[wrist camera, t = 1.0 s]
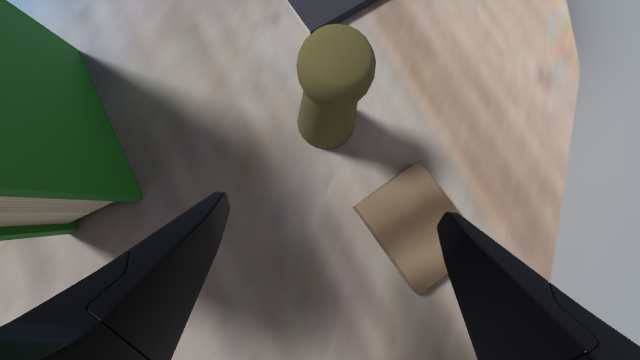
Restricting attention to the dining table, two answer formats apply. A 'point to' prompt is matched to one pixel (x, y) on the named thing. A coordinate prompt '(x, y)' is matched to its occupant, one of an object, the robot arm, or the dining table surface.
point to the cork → (332, 83)
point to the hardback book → (52, 135)
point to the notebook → (325, 11)
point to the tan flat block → (409, 224)
